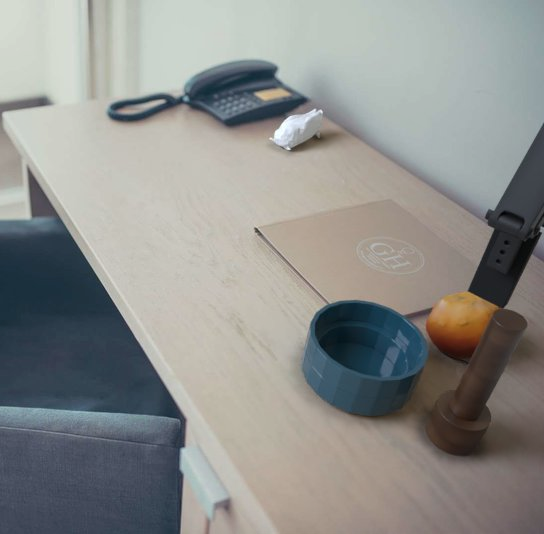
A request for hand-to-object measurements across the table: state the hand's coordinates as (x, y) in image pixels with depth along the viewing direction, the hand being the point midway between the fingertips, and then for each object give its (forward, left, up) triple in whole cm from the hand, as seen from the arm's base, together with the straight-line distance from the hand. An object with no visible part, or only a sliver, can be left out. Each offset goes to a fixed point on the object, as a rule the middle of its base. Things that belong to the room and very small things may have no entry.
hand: (523, 262), depth 52 cm
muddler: (-1, 0, -22) cm, 22 cm away
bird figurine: (+49, -40, -22) cm, 67 cm away
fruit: (+5, -13, -22) cm, 26 cm away
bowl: (+10, 0, -22) cm, 24 cm away
